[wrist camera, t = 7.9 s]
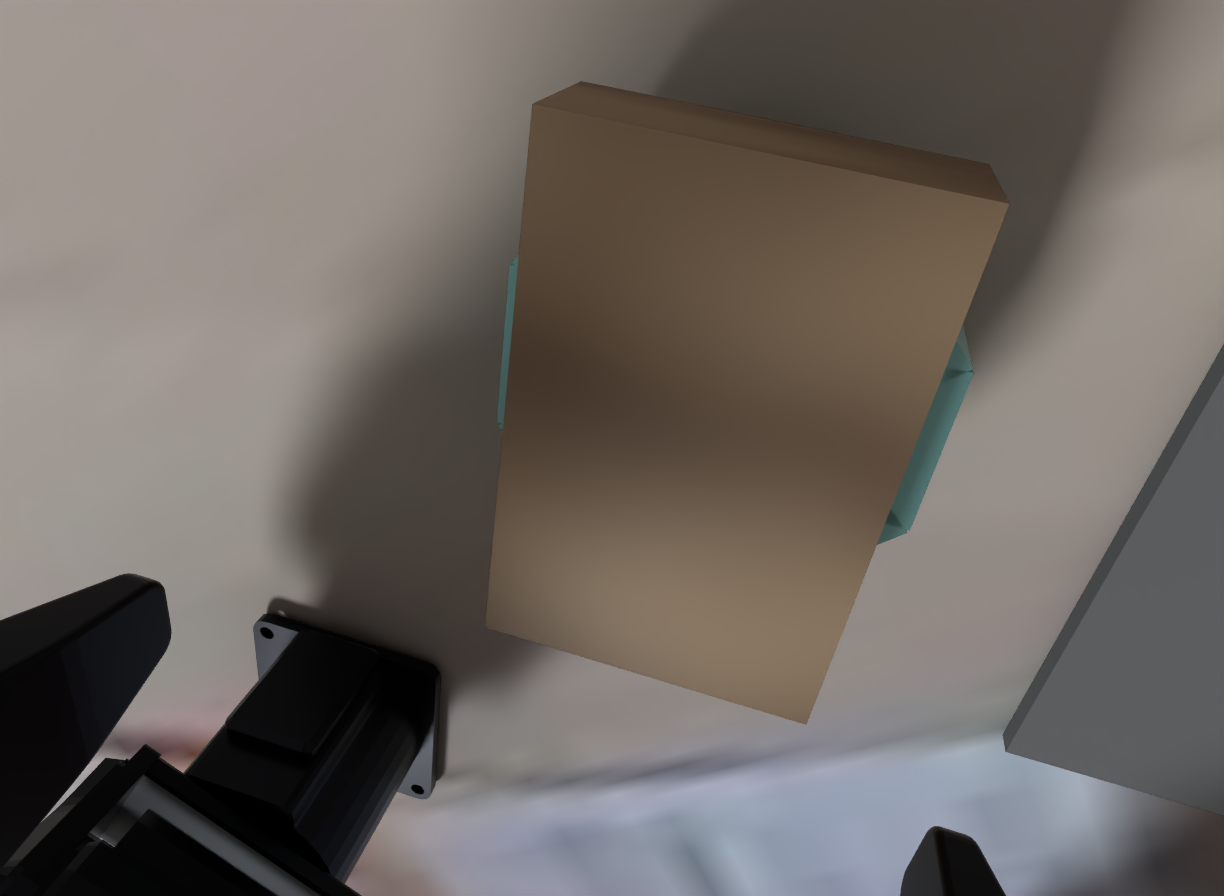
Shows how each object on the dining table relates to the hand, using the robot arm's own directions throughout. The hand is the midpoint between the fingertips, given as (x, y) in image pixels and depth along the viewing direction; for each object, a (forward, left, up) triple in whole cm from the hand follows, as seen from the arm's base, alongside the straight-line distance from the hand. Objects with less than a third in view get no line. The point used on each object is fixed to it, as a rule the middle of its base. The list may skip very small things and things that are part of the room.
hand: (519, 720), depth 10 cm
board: (0, -1, -8) cm, 8 cm away
